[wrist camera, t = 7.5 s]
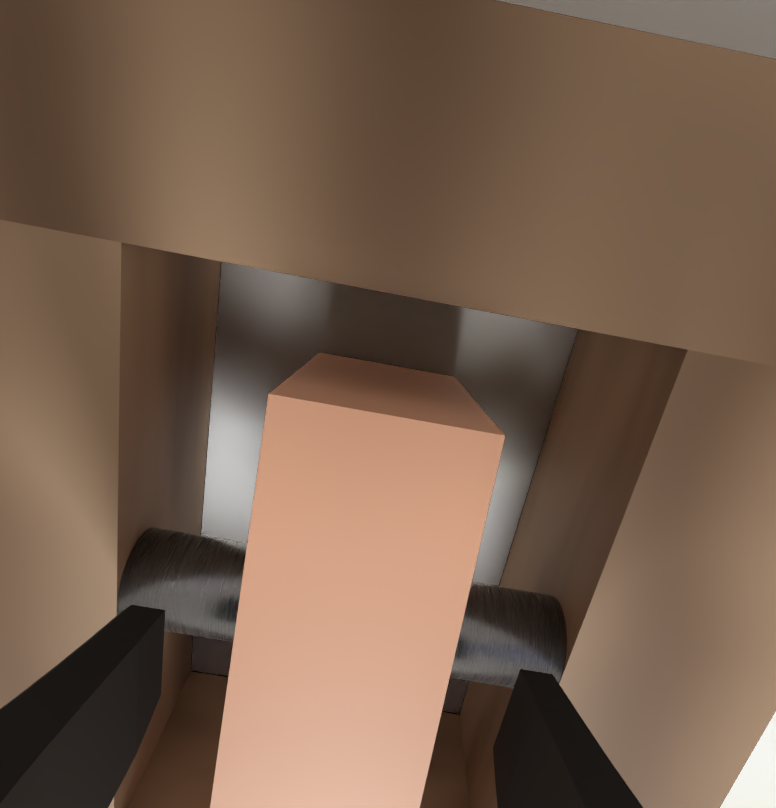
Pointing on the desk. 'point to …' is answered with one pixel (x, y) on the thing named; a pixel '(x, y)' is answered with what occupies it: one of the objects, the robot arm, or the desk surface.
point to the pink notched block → (353, 585)
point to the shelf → (413, 277)
